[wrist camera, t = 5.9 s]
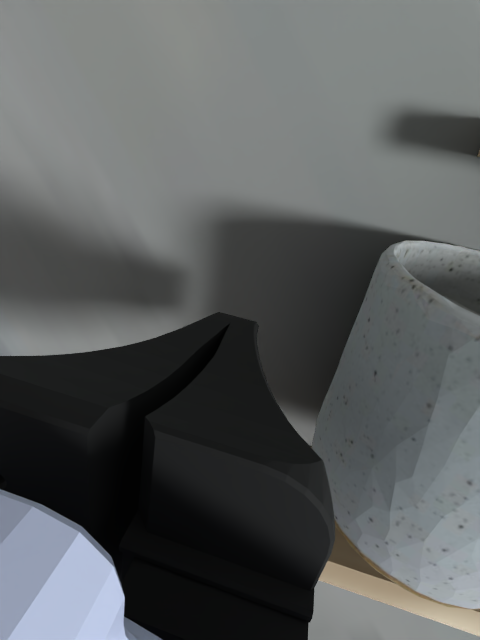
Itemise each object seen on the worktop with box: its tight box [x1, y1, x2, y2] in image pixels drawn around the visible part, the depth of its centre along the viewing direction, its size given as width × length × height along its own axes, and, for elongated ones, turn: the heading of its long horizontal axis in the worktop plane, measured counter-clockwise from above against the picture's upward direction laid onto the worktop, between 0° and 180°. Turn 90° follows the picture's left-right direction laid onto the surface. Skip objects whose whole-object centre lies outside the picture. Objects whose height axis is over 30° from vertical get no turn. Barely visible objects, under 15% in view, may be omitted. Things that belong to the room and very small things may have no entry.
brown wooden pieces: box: [311, 150, 480, 636], centre depth 11 cm, size 15×24×6 cm, turn 81°
